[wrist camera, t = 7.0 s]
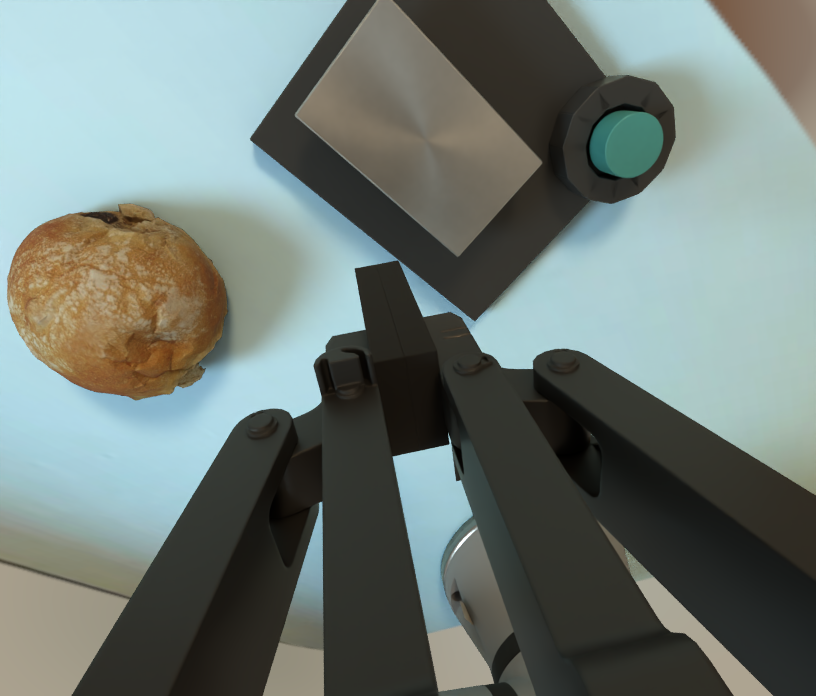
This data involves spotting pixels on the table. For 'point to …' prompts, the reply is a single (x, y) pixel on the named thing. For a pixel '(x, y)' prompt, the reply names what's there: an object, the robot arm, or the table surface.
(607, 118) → the tare button
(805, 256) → the table surface
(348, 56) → the silver metal plate
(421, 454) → the table surface
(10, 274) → the bread roll
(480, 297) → the scale
